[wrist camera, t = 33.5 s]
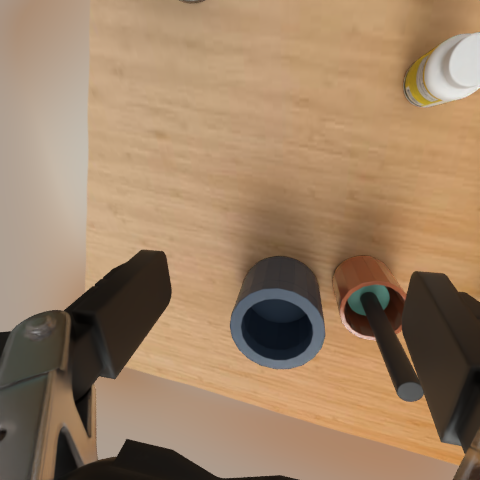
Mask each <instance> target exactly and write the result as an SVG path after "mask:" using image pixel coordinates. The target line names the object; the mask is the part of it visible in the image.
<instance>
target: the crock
mask: <svg viewBox="0 0 480 480" xmlns="http://www.w3.org/2000/svg"><path fill="white" fill-rule="evenodd" d="M332 283H333V289H334V293H335V297H336V301H337V305H338V309H339V313H340V317H341V321H342V323H343V324H344V326H345V327H346V328H347V329H348V331H349V332H351V333H353V334H354V335H356V336H358V337H360V338H363V339H369V340H376V339H375V336H374V334H373V331H372V329H371V326H370V324H369V321H368V319H367V316H365V315H361V314H358V313H356V312H355V311H353V310H352V309H351V307H350V306H349V304H348V298H349V297H350V296H351V294H352V293H353V292H355V291H357V290H358V289H360V288H362V287H365V286H370V285H375V284H376V285H383V286H386V288H387V290H388V292H389V295H390V300H389V303H388V305H387V307H386V308H385V309H384V312H385V314H386V316H387V318H388V320H389V322H390V324H391V326H392V328H393V330H394V332H395V334H397V333H399V332H401V331H402V313H403V308H404V304H405V300H406V296H407V294H406V293H405V292H404V290H403V289H402V287H401V286H400V284H399V283H398V282H397V280H396V279H395V277H394V276H393V275H392V273H391V272H390V270H389V269H388V268H387V266H386V265H385V264H384V263H383V262H382V261H380V260H378V259H376V258H374V257H371V256H355V257H351V258H349V259H347V260H345V261H344V262H342V263H341V264H340V265H339V266H338V267H337V269H336V270H335V272H334V275H333V280H332Z"/></svg>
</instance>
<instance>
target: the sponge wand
mask: <svg viewBox="0 0 480 480" xmlns="http://www.w3.org/2000/svg"><path fill="white" fill-rule="evenodd" d="M389 300H390V295H389V292H388V290H387V288H386V286H383V285H376V284H375V285H370V286H365V287H362V288H360V289H358V290H357V291H355V292H353V293H352V294H351V296H350V297H349V298H348V304H349V306H350V307H351V309H352V310H353V311H355V312H356V313H358V314H361V315H365V316H367V319H368V321H369V324H370V326H371V329H372V331H373V334H374V336H375V339H376V342H377V344H378V347H379V349H380V352H381V354H382V357H383V359H384V362H385V364H386V367H387V369H388V372H389V375H390V377H391V380H392V382H393V385H394V387H395V390H396V392H397V395H398V396H399V397H400V398H401V399H402V400H404V401H408V402H413V401H417V400H419V399H420V398H422V396H423V394H424V392H423V389H422V387H421V384H420V381H419V379H418V377H417V375H416V373H415V371H414V369H413V367H412V365H411V363H410V361H409V359H408V357H407V355H406V353H405V351H404V349H403V347H402V345H401V343H400V341H399V339H398V338H397V336H396V334H395V332H394V330H393V328H392V326H391V324H390V322H389V320H388V318H387V316H386V314H385V312H384V309H385V308H386V307H387V305H388V303H389Z"/></svg>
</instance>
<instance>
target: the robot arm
mask: <svg viewBox="0 0 480 480" xmlns="http://www.w3.org/2000/svg"><path fill="white" fill-rule="evenodd" d="M179 1H182V2H186V3H198V2H202V1H204V0H179ZM171 293H172V289H171V282H170V276H169V270H168V264H167V258H166V255H165V253H164V252H163V251H153V250H141V251H139V252H138V253H137V254H136V255H135V256H134V257H132V258H131V259H130V260H129V261H128V262H126V263H124V264H122V265H120V266H118V267H116V268H114V269H112V270H111V271H110V272H109V273H108V274H107V275H105V276H104V277H103V279H101V280H99V281H98V282H97V283H96V284H95V286H92V287H91V288H90V289H89V290H88V291H86V292H85V293H84V294H83V295H82V296H81V297H79V298H78V299H77V300H76V301H75V302H74V303H72V304H71V305H70V306H69V307H68V308H66V309H65V310H64V311H61V310H52V311H46V312H43V313H39V314H36V315H34V316H32V317H29V318H28V319H26V320H24V321H23V322H21V323H20V324H18V325H17V326H16V327H15V328H14V329H13V330H12V331H9V332H0V480H298V479H293V478H289V477H285V476H280V475H278V476H260V477H244V478H226V479H225V478H219V477H216V476H214V475H213V474H211V473H209V472H208V471H206V470H205V469H203V468H201V467H200V466H198V465H196V464H195V463H193V462H192V461H190V460H188V459H187V458H185V457H183V456H182V455H180V454H179V453H177V452H175V451H174V450H171V449H167V448H162V447H158V446H154V445H149V444H146V443H141V442H137V441H133V440H129V439H126V441H125V443H124V445H123V447H122V448H121V450H120V452H119V454H118V456H117V457H111V458H106V459H101V460H98V456H97V448H96V389H95V386H94V382H95V381H96V380H97V378H98V377H99V376H101V377H106V378H112V379H116V377H117V376H118V375H119V373H120V372H121V370H122V369H123V368H124V366H125V365H126V363H127V362H128V361H129V359H130V358H131V356H132V355H133V354H134V352H135V351H136V349H137V348H138V347H139V345H140V344H141V342H142V341H143V340H144V338H145V337H146V335H147V334H148V333H149V331H150V330H151V328H152V327H153V326H154V324H155V323H156V321H157V320H158V319H159V317H160V316H161V314H162V313H163V312H164V310H165V309H166V307H167V306H168V304H169V302H170V299H171ZM402 332H403V336H404V339H405V341H406V344H407V347H408V350H409V353H410V356H411V358H412V361H413V364H414V367H415V370H416V372H417V375H418V378H419V381H420V384H421V387H422V389H423V392H424V395H425V398H426V401H427V404H428V406H429V409H430V412H431V415H432V418H433V420H434V423H435V426H436V429H437V432H438V435H439V437H440V440H441V442H443V443H449V444H454V445H459V446H462V448H463V451H464V453H465V456H464V458H463V460H462V462H461V464H460V466H459V468H458V470H457V472H456V474H455V476H454V478H453V480H480V302H478V301H477V300H476V299H474V298H473V297H471V296H470V295H468V294H467V293H465V292H458V291H457V290H456V288H455V287H454V285H453V284H452V283H451V281H450V280H449V278H448V277H447V276H446V275H445V274H443V273H431V272H418V271H415V272H413V274H412V276H411V279H410V283H409V287H408V291H407V296H406V300H405V304H404V308H403V313H402Z"/></svg>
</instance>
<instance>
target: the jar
mask: <svg viewBox="0 0 480 480" xmlns="http://www.w3.org/2000/svg"><path fill="white" fill-rule="evenodd" d="M230 329H231V334H232V338H233V340H234V342H235V344H236V346H237V347H238V349H239V350H240V351H241V352H242V353H243V354H244V355H245V356H246V357H247V358H249V359H250V360H252V361H253V362H255V363H257V364H259V365H261V366H265V367H269V368H273V369H274V368H275V369H291V368H294V367H298V366H302V365H303V364H305V363H307V362H308V361H310V360H311V359H313V358H314V357H315V356H316V354H317V353H318V352H319V350H320V349H321V348H322V345H323V342H324V338H325V326H324V318H323V311H322V304H321V298H320V291H319V286H318V283H317V280H316V278H315V276H314V274H313V273H312V271H311V270H310V269H309V268H308V267H307V266H306V265H304V264H303V263H301V262H300V261H298V260H295V259H293V258H289V257H282V256H276V257H270V258H266V259H264V260H261V261H260V262H258V263H256V264H255V265H254V266H253V267H252V268H251V269H250V270H249V272H248V273H247V275H246V278H245V279H244V282H243V284H242V287H241V290H240V293H239V295H238V298H237V301H236V304H235V306H234V309H233V312H232V315H231V321H230Z"/></svg>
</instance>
